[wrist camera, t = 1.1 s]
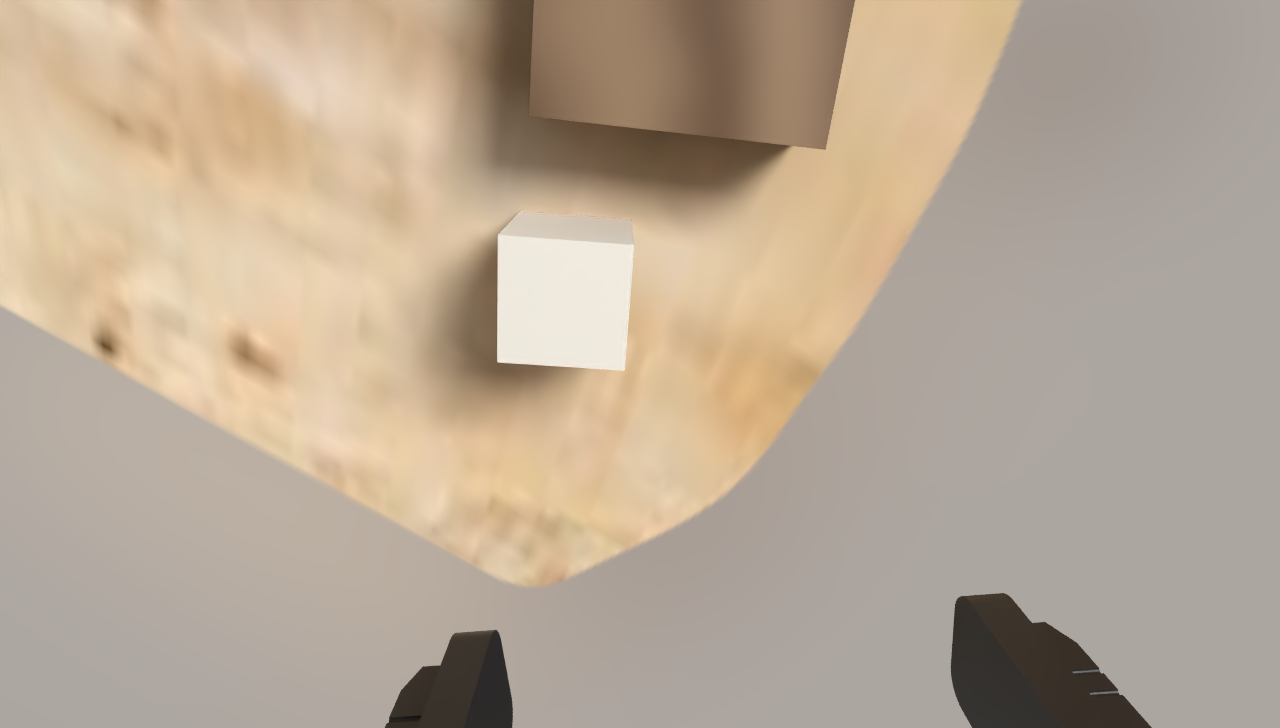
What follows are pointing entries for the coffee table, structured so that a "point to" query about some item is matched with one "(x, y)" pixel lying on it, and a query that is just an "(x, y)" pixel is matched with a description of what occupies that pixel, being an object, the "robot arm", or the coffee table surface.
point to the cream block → (564, 290)
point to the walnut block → (692, 66)
